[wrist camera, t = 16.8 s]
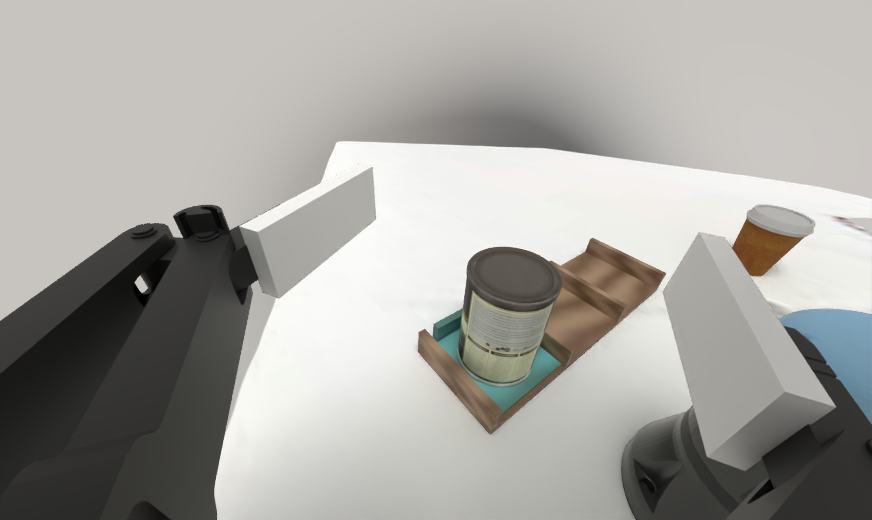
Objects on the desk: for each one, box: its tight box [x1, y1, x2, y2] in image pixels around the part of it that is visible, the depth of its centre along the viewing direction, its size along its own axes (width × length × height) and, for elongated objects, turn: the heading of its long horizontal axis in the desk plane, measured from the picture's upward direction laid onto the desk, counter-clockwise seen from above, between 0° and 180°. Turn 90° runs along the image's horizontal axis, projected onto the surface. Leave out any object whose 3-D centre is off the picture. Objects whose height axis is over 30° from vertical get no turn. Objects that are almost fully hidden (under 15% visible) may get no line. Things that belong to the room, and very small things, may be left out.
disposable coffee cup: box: [732, 205, 815, 276], centre depth 63 cm, size 10×10×12 cm
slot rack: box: [418, 238, 666, 434], centre depth 50 cm, size 14×43×4 cm, turn 127°
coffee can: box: [457, 247, 562, 387], centre depth 39 cm, size 10×10×14 cm
